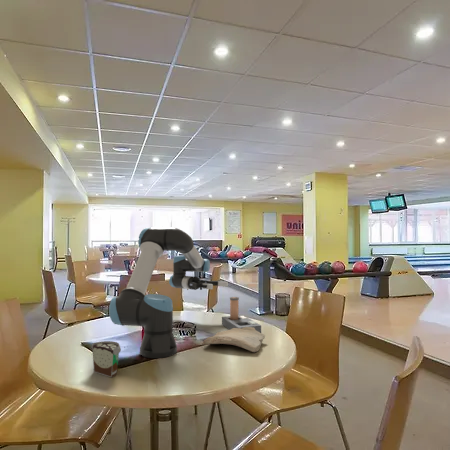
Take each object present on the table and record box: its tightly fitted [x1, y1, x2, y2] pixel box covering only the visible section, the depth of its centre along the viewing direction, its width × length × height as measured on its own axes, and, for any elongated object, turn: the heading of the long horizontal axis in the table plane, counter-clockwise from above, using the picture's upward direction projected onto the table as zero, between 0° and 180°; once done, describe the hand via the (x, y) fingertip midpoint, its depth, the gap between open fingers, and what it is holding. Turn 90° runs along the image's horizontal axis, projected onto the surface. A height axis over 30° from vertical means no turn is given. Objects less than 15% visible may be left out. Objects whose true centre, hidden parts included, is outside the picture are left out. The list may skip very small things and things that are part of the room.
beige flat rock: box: [202, 327, 266, 353], centre depth 160 cm, size 24×8×20 cm
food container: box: [91, 340, 122, 378], centre depth 130 cm, size 12×6×10 cm, turn 58°
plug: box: [229, 296, 240, 320], centre depth 193 cm, size 5×5×15 cm
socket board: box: [221, 314, 262, 333], centre depth 187 cm, size 24×12×4 cm, turn 20°
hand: (220, 285), depth 199 cm, fingers open, 13 cm apart
